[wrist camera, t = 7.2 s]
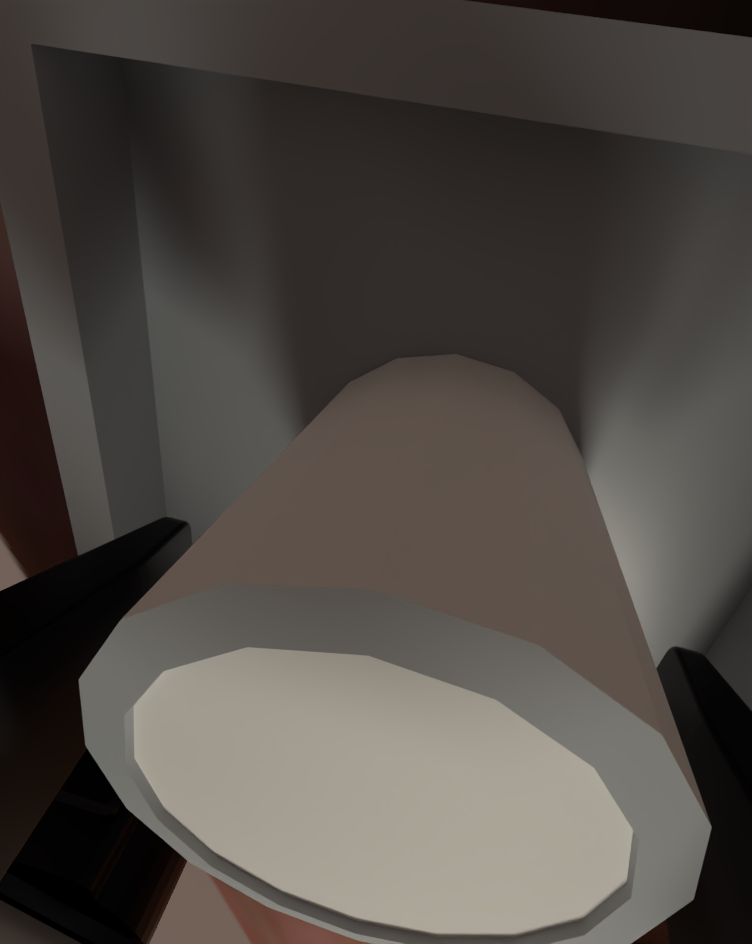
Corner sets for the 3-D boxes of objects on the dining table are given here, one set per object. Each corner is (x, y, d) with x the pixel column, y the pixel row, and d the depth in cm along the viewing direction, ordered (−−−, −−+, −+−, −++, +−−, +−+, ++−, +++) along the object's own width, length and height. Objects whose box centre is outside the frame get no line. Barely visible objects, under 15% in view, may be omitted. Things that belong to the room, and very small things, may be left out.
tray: (662, 741, 16) (685, 857, 14) (165, 605, 18) (106, 685, 15) (1105, 113, 8) (1371, 118, 5) (93, -24, 10) (-59, -69, 7)
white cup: (231, 372, 12) (-56, 629, 6) (583, 268, 9) (670, 533, 4) (350, 616, 15) (237, 944, 9) (641, 586, 12) (739, 1009, 7)
